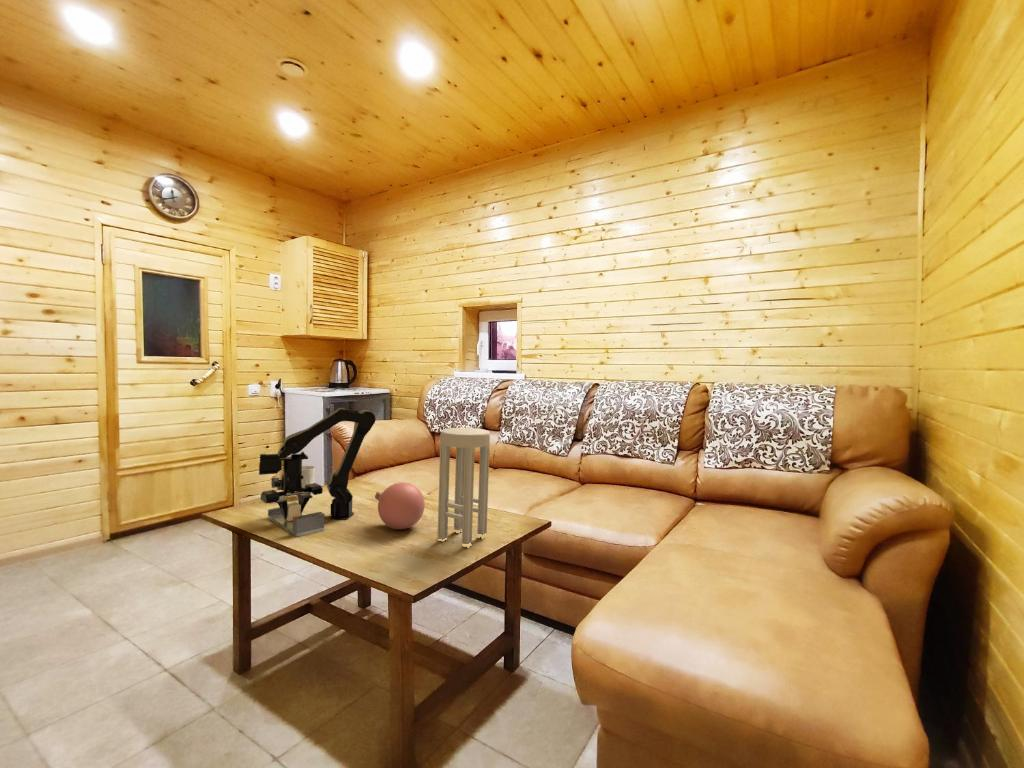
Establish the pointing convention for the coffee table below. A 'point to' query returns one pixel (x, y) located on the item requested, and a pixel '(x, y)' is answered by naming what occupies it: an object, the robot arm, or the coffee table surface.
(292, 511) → the cream rectangular block
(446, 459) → the stool
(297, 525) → the gray display stand
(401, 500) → the balloon
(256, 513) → the coffee table surface
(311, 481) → the cup
